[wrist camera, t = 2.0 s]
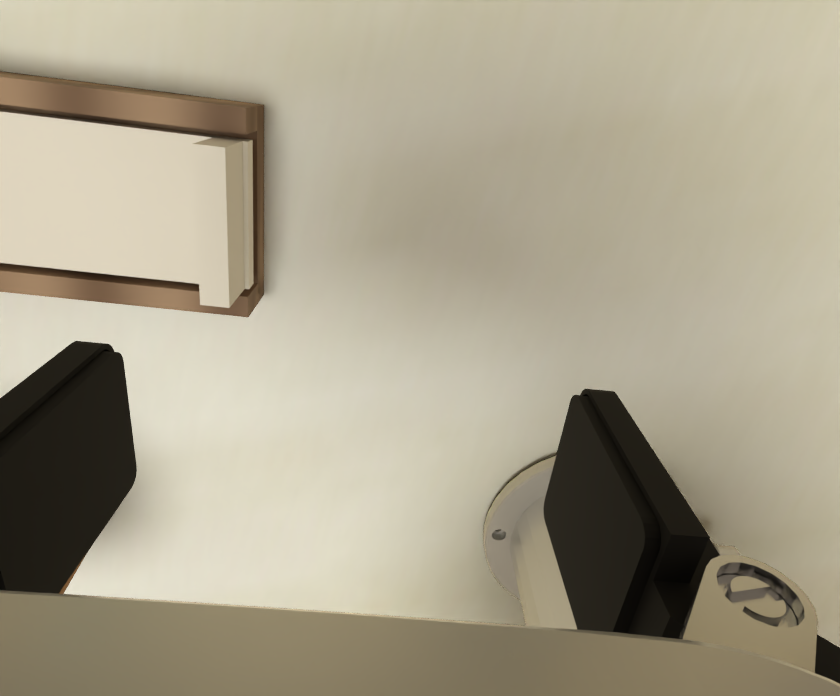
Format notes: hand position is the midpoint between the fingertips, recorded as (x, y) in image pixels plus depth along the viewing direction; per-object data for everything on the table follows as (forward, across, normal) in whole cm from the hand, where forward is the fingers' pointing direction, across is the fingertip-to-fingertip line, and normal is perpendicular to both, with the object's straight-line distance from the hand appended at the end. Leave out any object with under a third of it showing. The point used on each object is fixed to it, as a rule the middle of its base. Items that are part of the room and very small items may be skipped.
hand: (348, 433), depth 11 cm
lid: (+16, +13, 0) cm, 21 cm away
